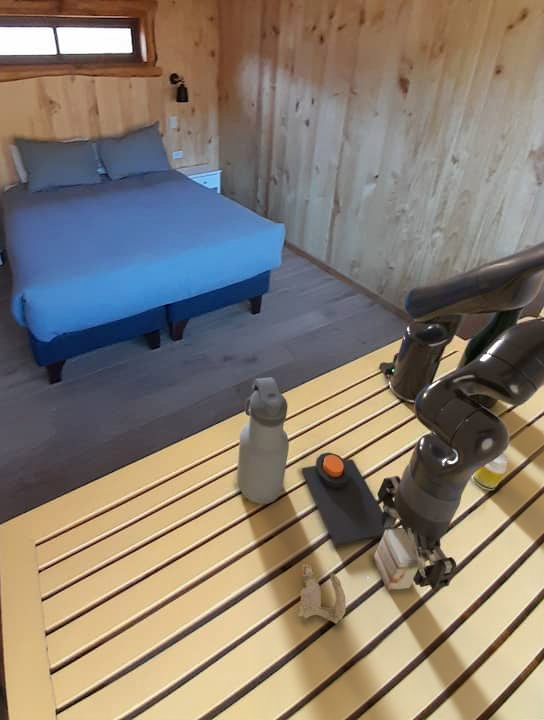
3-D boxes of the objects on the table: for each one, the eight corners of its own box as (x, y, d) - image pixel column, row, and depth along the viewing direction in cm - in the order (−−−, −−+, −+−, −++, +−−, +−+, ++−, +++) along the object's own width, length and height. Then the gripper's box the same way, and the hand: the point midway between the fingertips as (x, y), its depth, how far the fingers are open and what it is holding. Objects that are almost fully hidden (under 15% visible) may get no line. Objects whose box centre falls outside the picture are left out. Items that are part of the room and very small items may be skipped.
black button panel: (298, 465, 90) (300, 457, 89) (347, 457, 92) (350, 448, 91) (334, 547, 76) (337, 539, 74) (392, 535, 78) (395, 526, 76)
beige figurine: (275, 587, 69) (307, 548, 67) (297, 577, 73) (327, 541, 71) (310, 648, 63) (346, 608, 60) (331, 634, 67) (366, 596, 64)
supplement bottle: (500, 493, 84) (515, 468, 80) (475, 488, 85) (488, 463, 81) (489, 471, 88) (503, 446, 85) (466, 467, 89) (478, 442, 85)
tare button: (319, 461, 88) (320, 456, 88) (336, 458, 89) (337, 453, 88) (328, 479, 85) (329, 474, 84) (345, 475, 85) (347, 470, 85)
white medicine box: (372, 557, 74) (383, 527, 70) (394, 555, 75) (408, 525, 70) (386, 592, 70) (400, 562, 65) (410, 589, 70) (426, 560, 65)
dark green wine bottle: (442, 395, 107) (482, 293, 92) (456, 375, 113) (496, 277, 98) (487, 420, 100) (539, 315, 85) (500, 398, 106) (550, 295, 91)
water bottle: (232, 461, 91) (238, 371, 79) (274, 457, 92) (286, 367, 79) (242, 508, 82) (250, 415, 69) (288, 503, 83) (305, 410, 70)
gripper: (487, 541, 55) (453, 598, 63) (417, 448, 68) (396, 504, 75) (439, 552, 54) (410, 608, 62) (377, 456, 67) (359, 512, 74)
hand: (402, 551), depth 68 cm, fingers open, 8 cm apart
